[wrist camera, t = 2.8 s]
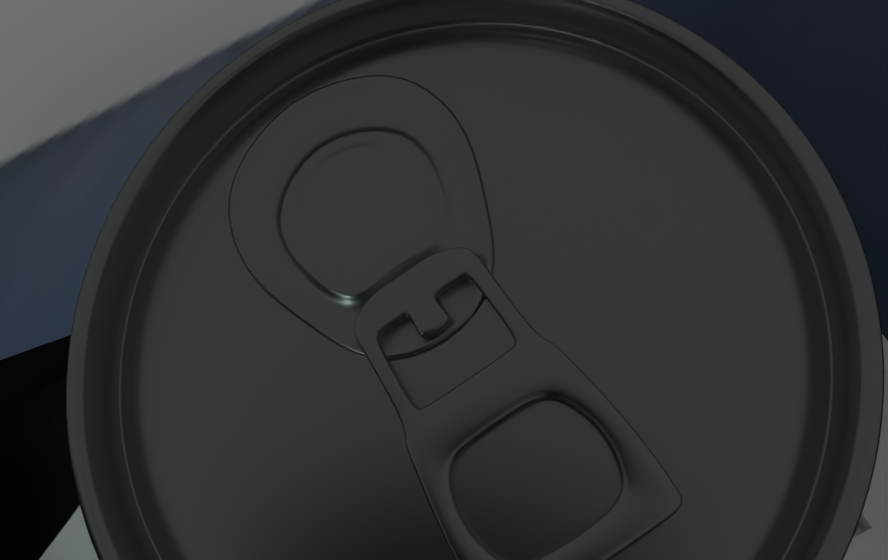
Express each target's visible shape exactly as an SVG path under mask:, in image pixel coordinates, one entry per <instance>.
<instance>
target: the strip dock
mask: <svg viewBox="0 0 888 560" xmlns="http://www.w3.org/2000/svg"><path fill="white" fill-rule="evenodd" d="M882 339H883V350H884V403H883V417H882V426H881V433H880V441H879V447H878V452H877V458H876V463H875V468H874V472H873V476H872V480H871V484H870V488H869V492H868V495H867V498H866V502H865V505H864V508H863V512H862V514H861V517H860V520H859V523H858V525H857V528H856V531H855V533H854V536H853V538H852V541H851V543H850V545H849V548H848V550H847V552H846V555H845V557H844V559H843V560H888V341H887V340H886V338H885V337H884V336H883V334H882ZM39 560H99V559H98V557H97V554H96V552H95V550H94V547H93V545H92V542H91V539H90V536H89V533H88V530H87V528H86V524H85V521H84V518H83V514H82V511H81V508H80V506H79V507H78V508H77V510H76V511H75V513H74V514H73V515H72V517H71V518H70V520H69V521H68V522H67V524H66V525H65V526H64V528H63V529H62V530H61V532H60V533H59V534H58V535H57V537H56V538H55V539H54V541H53V542H52V543H51V545H50V546H49V547H48V549H47V550H46V551H45V553H44V554H43V555H42V557H41V558H40V559H39Z"/></svg>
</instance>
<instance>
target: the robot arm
mask: <svg viewBox="0 0 888 560" xmlns="http://www.w3.org/2000/svg"><path fill="white" fill-rule="evenodd" d="M70 337H71V335H69V336H67V337H64V338H61V339H58V340H55V341H53V342H50V343H47V344H44V345H41V346H39V347H36V348H33V349H30V350H28V351H25V352H22V353H19V354H16V355H14V356H11V357H8V358H5V359H2V360H0V560H39V559H40V558H41V557H42V555H43V554H44V553H45V551H46V550H47V549H48V547H49V546H50V545H51V543H52V542H53V541H54V539H55V538H56V537H57V535H58V534H59V533H60V532H61V530H62V529H63V528H64V526H65V525H66V524H67V522H68V521H69V520H70V518H71V517H72V515H73V514H74V513H75V511H76V510H77V508H78V507H79V506H80V504H79V500H78V496H77V492H76V487H75V482H74V477H73V472H72V466H71V459H70V453H69V444H68V434H67V419H66V377H67V363H68V353H69V344H70Z"/></svg>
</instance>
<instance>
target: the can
mask: <svg viewBox="0 0 888 560" xmlns="http://www.w3.org/2000/svg"><path fill="white" fill-rule="evenodd" d="M883 403H884V350H883V339H882V328H881V321H880V314H879V307H878V302H877V297H876V292H875V287H874V283H873V279H872V275H871V271H870V267H869V263H868V260H867V257H866V254H865V251H864V247H863V244H862V241H861V239H860V236H859V233H858V231H857V228H856V225H855V223H854V220H853V218H852V216H851V213H850V211H849V209H848V206H847V204H846V202H845V200H844V198H843V196H842V194H841V192H840V190H839V188H838V186H837V184H836V182H835V181H834V179H833V177H832V175H831V173H830V172H829V170H828V168H827V166H826V165H825V163H824V162H823V160H822V158H821V157H820V155H819V154H818V152H817V151H816V149H815V148H814V146H813V145H812V143H811V142H810V141H809V139H808V138H807V136H806V135H805V133H804V132H803V131H802V130H801V128H800V127H799V126H798V124H797V123H796V122H795V121H794V119H793V118H792V117H791V116H790V115H789V113H788V112H787V111H786V110H785V109H784V108H783V107H782V105H781V104H780V103H779V102H778V101H777V100H776V99H775V98H774V97H773V96H772V95H771V94H770V93H769V92H768V91H767V89H766V88H765V87H764V86H762V85H761V84H760V83H759V82H758V81H757V80H756V79H755V78H754V77H753V76H752V75H751V74H750V73H748V72H747V71H746V70H745V69H744V68H743V67H741V66H740V65H739V64H738V63H737V62H735V61H734V60H733V59H732V58H730V57H729V56H728V55H726V54H725V53H724V52H722V51H721V50H720V49H719V48H717V47H716V46H714V45H713V44H711V43H710V42H708V41H707V40H705V39H704V38H702V37H701V36H699V35H698V34H696V33H694V32H693V31H691V30H690V29H688V28H686V27H685V26H683V25H681V24H679V23H677V22H676V21H674V20H672V19H670V18H668V17H666V16H664V15H662V14H660V13H658V12H656V11H654V10H652V9H649V8H647V7H645V6H643V5H640V4H638V3H636V2H633V1H630V0H339V1H337V2H334V3H332V4H329V5H327V6H324V7H322V8H320V9H318V10H316V11H313V12H311V13H309V14H307V15H305V16H303V17H301V18H299V19H297V20H295V21H293V22H291V23H289V24H288V25H286V26H284V27H282V28H280V29H279V30H277V31H275V32H274V33H272V34H270V35H269V36H267V37H265V38H264V39H262V40H261V41H259V42H258V43H256V44H255V45H253V46H252V47H250V48H249V49H247V50H246V51H245V52H243V53H242V54H241V55H239V56H238V57H236V58H235V59H234V60H232V61H231V62H230V63H229V64H227V65H226V66H225V67H224V68H222V69H221V70H220V71H219V72H218V73H217V74H215V75H214V76H213V77H212V78H211V79H210V80H208V81H207V82H206V83H205V84H204V85H203V86H202V87H201V88H200V89H199V90H198V91H197V92H196V93H195V94H194V95H193V96H192V97H191V98H190V99H189V100H188V101H187V102H186V103H185V104H184V105H183V106H182V107H181V108H180V109H179V110H178V111H177V112H176V114H175V115H174V116H173V117H172V118H171V119H170V120H169V121H168V123H167V124H166V125H165V126H164V127H163V129H162V130H161V131H160V132H159V134H158V135H157V136H156V138H155V139H154V140H153V141H152V143H151V144H150V145H149V147H148V148H147V150H146V151H145V152H144V154H143V155H142V157H141V158H140V159H139V161H138V163H137V164H136V166H135V167H134V169H133V170H132V172H131V173H130V175H129V177H128V178H127V180H126V182H125V183H124V185H123V187H122V189H121V190H120V192H119V194H118V196H117V198H116V200H115V201H114V203H113V205H112V207H111V209H110V211H109V214H108V216H107V218H106V220H105V222H104V224H103V226H102V229H101V231H100V233H99V236H98V238H97V241H96V243H95V246H94V248H93V251H92V254H91V257H90V259H89V262H88V265H87V268H86V271H85V275H84V278H83V282H82V285H81V288H80V293H79V297H78V301H77V305H76V309H75V314H74V319H73V324H72V331H71V337H70V344H69V353H68V363H67V377H66V419H67V434H68V444H69V453H70V459H71V466H72V472H73V477H74V482H75V487H76V492H77V496H78V500H79V504H80V508H81V511H82V514H83V518H84V521H85V524H86V528H87V530H88V533H89V536H90V539H91V542H92V545H93V547H94V550H95V552H96V554H97V557H98V559H99V560H843V559H844V557H845V555H846V552H847V550H848V548H849V545H850V543H851V541H852V538H853V536H854V533H855V531H856V528H857V525H858V523H859V520H860V517H861V514H862V512H863V508H864V505H865V502H866V498H867V495H868V492H869V488H870V484H871V480H872V476H873V472H874V468H875V463H876V458H877V452H878V447H879V441H880V433H881V426H882V417H883Z"/></svg>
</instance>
